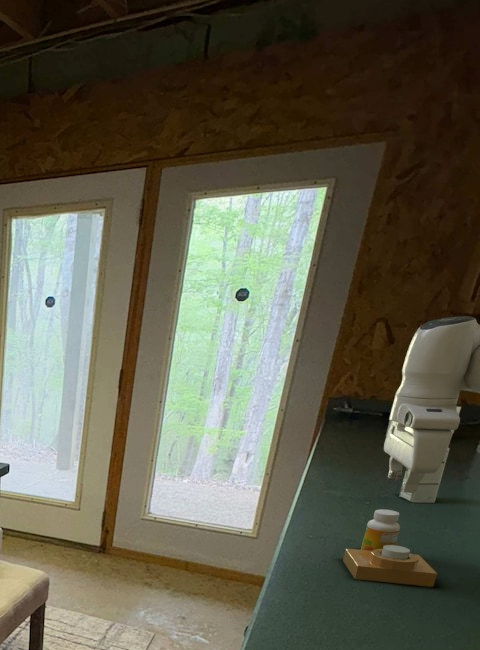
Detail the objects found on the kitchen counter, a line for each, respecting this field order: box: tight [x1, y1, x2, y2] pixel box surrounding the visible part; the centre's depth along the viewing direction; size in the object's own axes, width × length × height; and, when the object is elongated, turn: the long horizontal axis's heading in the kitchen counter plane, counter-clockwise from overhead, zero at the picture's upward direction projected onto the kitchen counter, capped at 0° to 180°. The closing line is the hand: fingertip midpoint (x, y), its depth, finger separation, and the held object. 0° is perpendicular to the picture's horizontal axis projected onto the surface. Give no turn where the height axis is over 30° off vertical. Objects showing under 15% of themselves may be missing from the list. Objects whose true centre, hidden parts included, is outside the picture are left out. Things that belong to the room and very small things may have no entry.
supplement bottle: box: [360, 508, 401, 551], centre depth 129 cm, size 5×5×10 cm
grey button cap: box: [381, 545, 411, 560], centre depth 118 cm, size 4×4×2 cm
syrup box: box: [398, 447, 450, 504], centre depth 162 cm, size 6×6×14 cm
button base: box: [342, 548, 438, 588], centre depth 120 cm, size 12×10×5 cm
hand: (400, 485), depth 119 cm, fingers open, 8 cm apart
